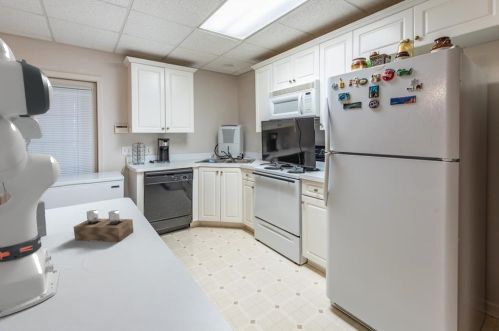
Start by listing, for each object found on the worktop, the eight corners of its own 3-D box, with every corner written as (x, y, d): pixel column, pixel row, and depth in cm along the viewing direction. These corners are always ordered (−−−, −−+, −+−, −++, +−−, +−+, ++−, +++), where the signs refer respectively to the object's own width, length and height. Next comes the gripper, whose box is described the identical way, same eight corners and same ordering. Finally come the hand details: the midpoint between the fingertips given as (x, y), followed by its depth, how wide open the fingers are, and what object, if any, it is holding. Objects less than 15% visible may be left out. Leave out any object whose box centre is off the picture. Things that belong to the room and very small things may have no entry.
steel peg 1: (100, 222, 111) (99, 210, 110) (94, 225, 107) (92, 213, 106) (92, 221, 112) (91, 209, 111) (85, 225, 108) (84, 212, 107)
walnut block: (133, 232, 113) (132, 219, 113) (119, 241, 104) (118, 227, 103) (92, 230, 116) (91, 218, 115) (75, 240, 106) (73, 226, 105)
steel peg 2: (122, 222, 110) (120, 210, 109) (116, 226, 106) (115, 213, 105) (113, 222, 110) (112, 210, 110) (107, 225, 106) (106, 213, 106)
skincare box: (20, 237, 110) (15, 202, 108) (40, 231, 116) (35, 198, 114) (29, 241, 106) (24, 204, 104) (49, 234, 112) (44, 200, 110)
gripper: (-48, 110, 77) (-39, 155, 80) (40, 113, 90) (44, 151, 93) (-43, 110, 81) (-35, 152, 84) (39, 112, 94) (43, 149, 97)
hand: (7, 152), depth 88 cm, fingers open, 8 cm apart
